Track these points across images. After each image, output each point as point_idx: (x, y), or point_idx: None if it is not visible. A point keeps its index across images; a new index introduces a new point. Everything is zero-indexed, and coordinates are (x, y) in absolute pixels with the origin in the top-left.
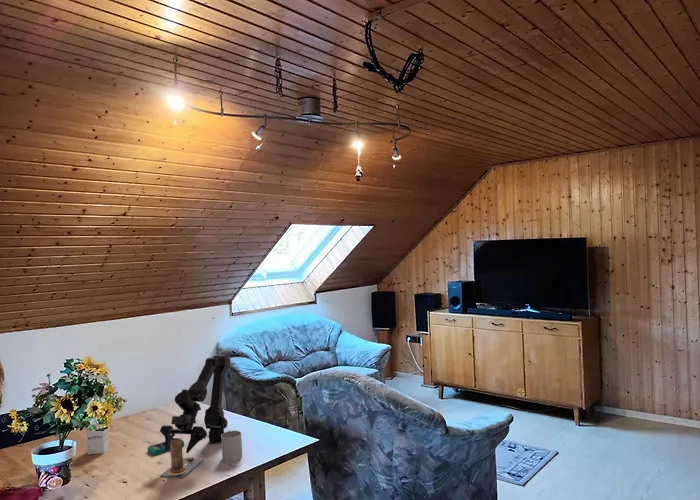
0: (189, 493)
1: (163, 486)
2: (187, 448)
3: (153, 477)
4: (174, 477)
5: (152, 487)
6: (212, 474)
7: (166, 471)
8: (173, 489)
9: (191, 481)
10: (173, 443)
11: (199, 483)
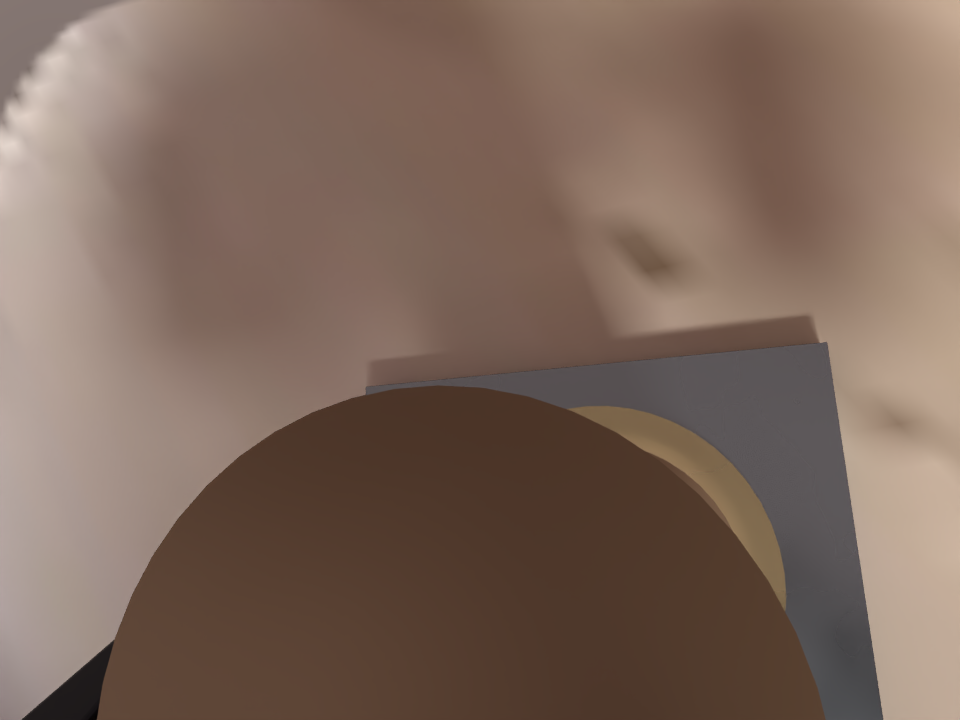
0: (68, 43)
1: (515, 86)
2: (73, 700)
3: (947, 305)
4: (524, 374)
5: (668, 10)
6: (5, 606)
7: (824, 527)
8: (315, 61)
9: (196, 328)
10: (381, 393)
11: (64, 301)
